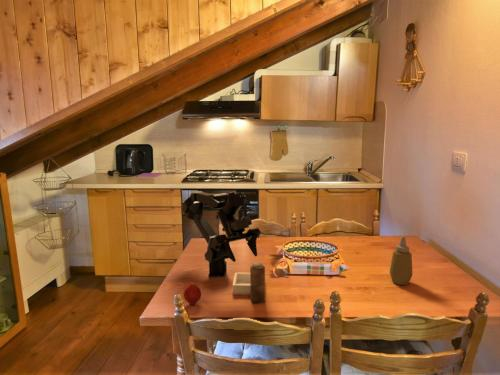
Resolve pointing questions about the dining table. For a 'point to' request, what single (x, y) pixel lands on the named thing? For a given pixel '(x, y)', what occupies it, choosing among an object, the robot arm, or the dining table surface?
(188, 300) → the onion
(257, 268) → the pepper mill
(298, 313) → the dining table surface
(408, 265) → the squeeze bottle
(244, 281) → the tray
